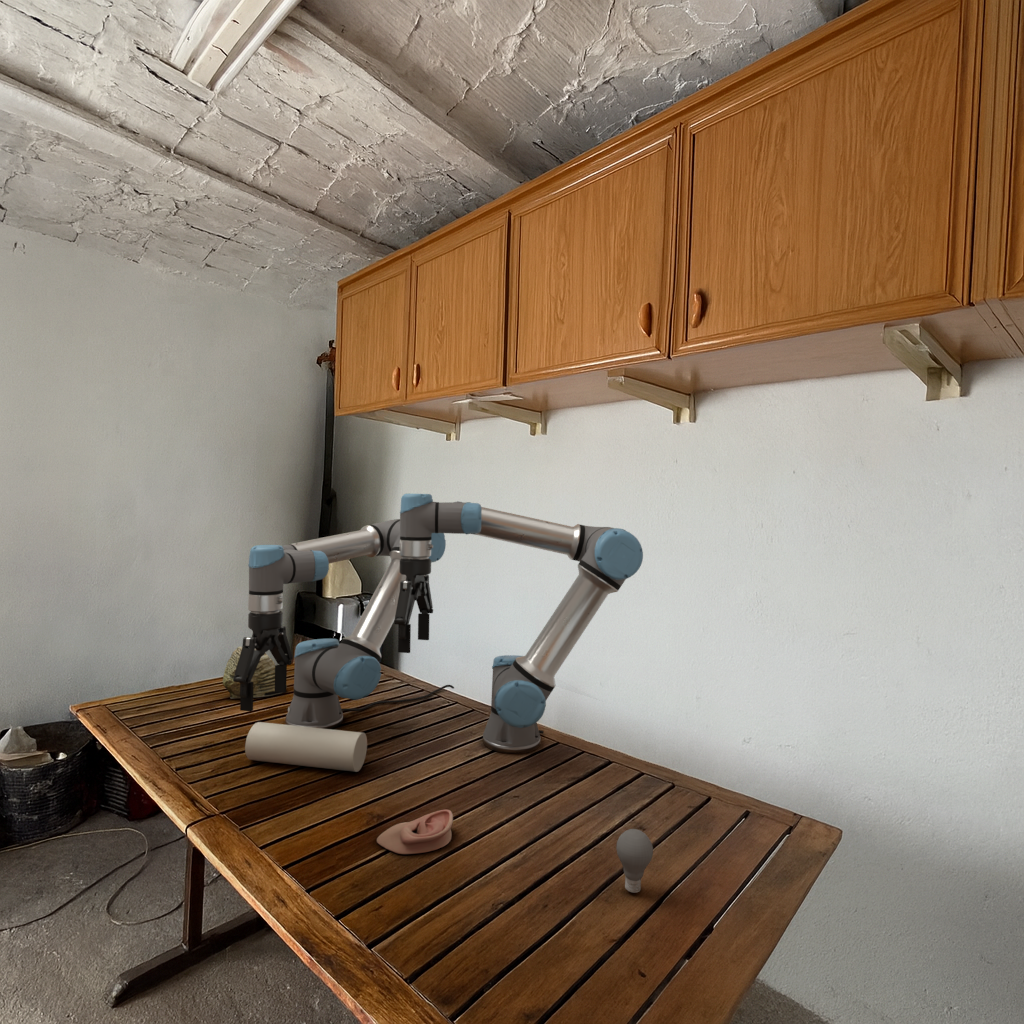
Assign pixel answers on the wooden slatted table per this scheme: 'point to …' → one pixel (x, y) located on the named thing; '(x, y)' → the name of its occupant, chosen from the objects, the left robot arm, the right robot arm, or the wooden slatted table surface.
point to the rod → (306, 746)
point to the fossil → (260, 679)
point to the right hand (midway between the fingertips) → (414, 645)
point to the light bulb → (634, 857)
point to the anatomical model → (419, 834)
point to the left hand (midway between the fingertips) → (264, 700)
